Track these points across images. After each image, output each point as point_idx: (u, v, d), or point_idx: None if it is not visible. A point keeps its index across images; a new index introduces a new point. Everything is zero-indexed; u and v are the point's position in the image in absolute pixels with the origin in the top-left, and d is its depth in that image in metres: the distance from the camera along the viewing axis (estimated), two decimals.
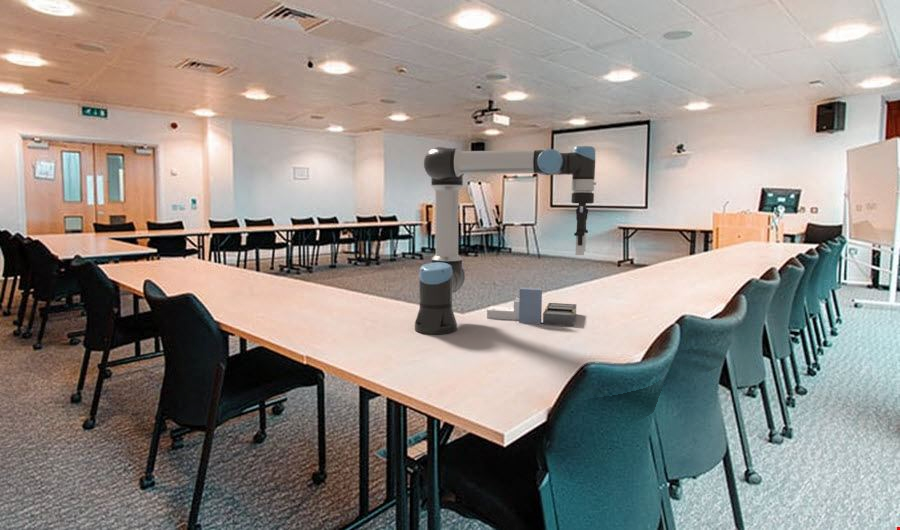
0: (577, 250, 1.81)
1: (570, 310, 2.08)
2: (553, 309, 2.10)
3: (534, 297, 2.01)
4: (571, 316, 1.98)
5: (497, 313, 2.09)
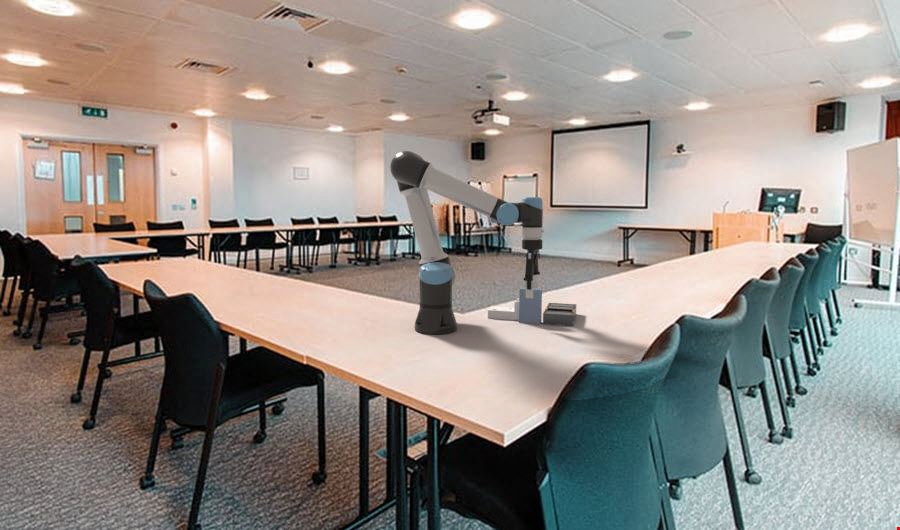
0: (527, 293, 1.96)
1: (570, 310, 2.08)
2: (553, 309, 2.10)
3: (534, 297, 2.01)
4: (571, 316, 1.98)
5: (498, 313, 2.09)
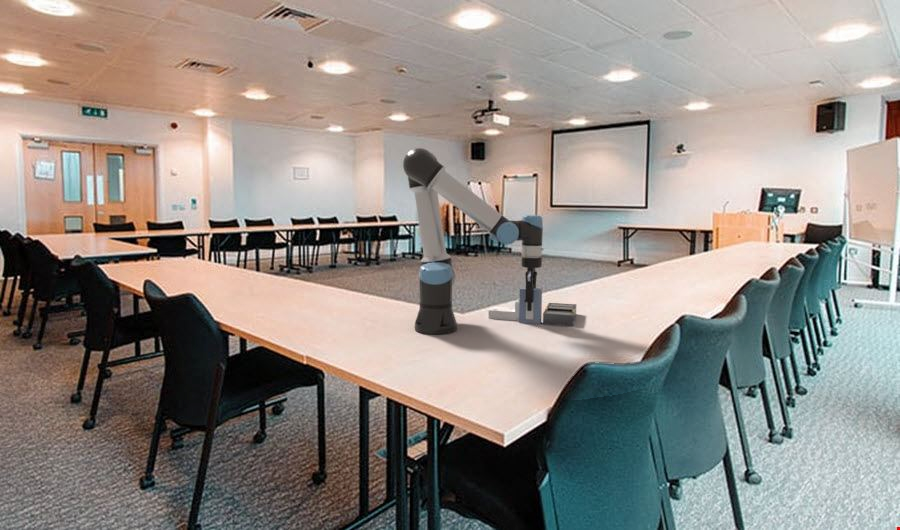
0: (527, 315, 2.01)
1: (570, 310, 2.08)
2: (553, 309, 2.10)
3: (534, 297, 2.01)
4: (571, 316, 1.98)
5: (499, 313, 2.09)
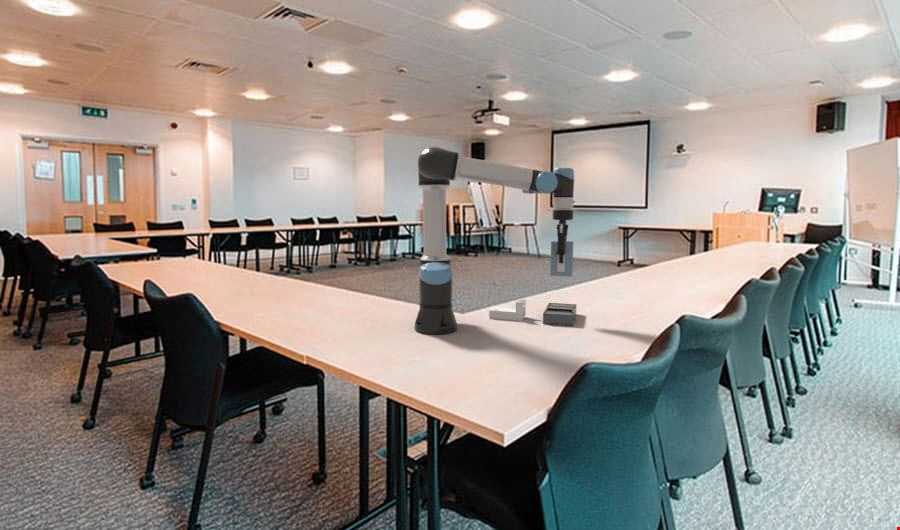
0: (558, 267, 2.03)
1: (570, 310, 2.08)
2: (553, 309, 2.10)
3: (566, 250, 2.02)
4: (571, 316, 1.98)
5: (499, 313, 2.09)
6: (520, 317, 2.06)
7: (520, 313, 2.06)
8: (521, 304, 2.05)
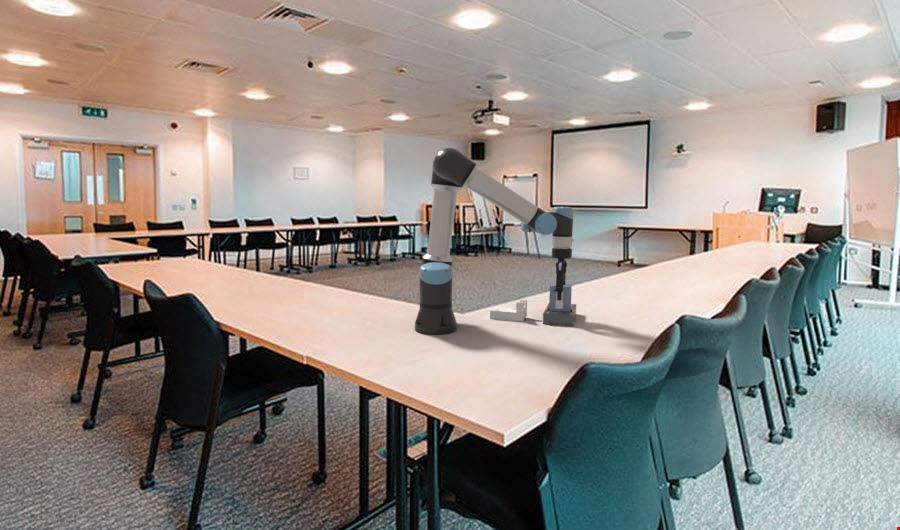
0: (557, 304, 2.02)
1: None
2: None
3: (564, 294, 2.04)
4: (571, 316, 1.98)
5: (500, 314, 2.08)
6: (521, 317, 2.05)
7: (521, 313, 2.05)
8: (522, 304, 2.05)
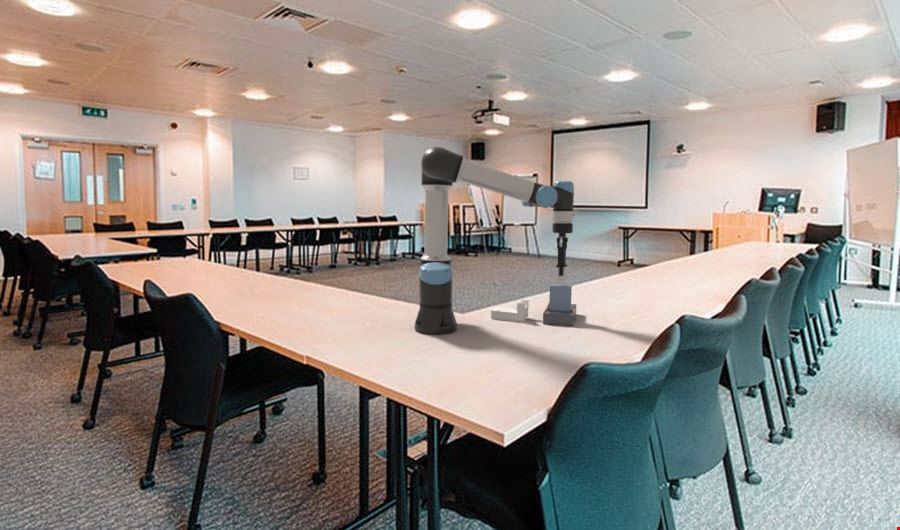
0: (558, 280, 2.05)
1: None
2: None
3: (564, 294, 2.04)
4: (571, 316, 1.98)
5: (501, 314, 2.08)
6: (521, 318, 2.05)
7: (521, 314, 2.05)
8: (523, 305, 2.04)
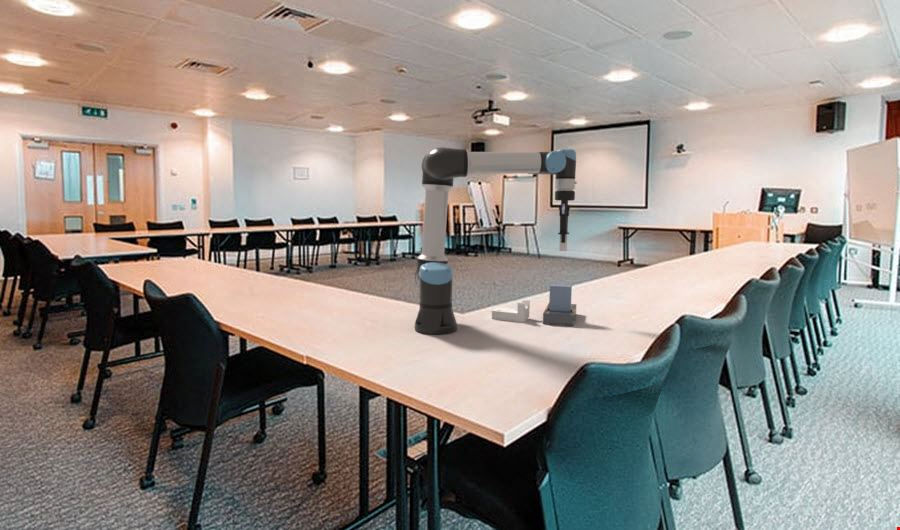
0: (561, 247, 2.09)
1: None
2: None
3: (564, 294, 2.04)
4: (571, 316, 1.98)
5: (502, 314, 2.07)
6: (522, 318, 2.04)
7: (522, 314, 2.04)
8: (523, 305, 2.03)
